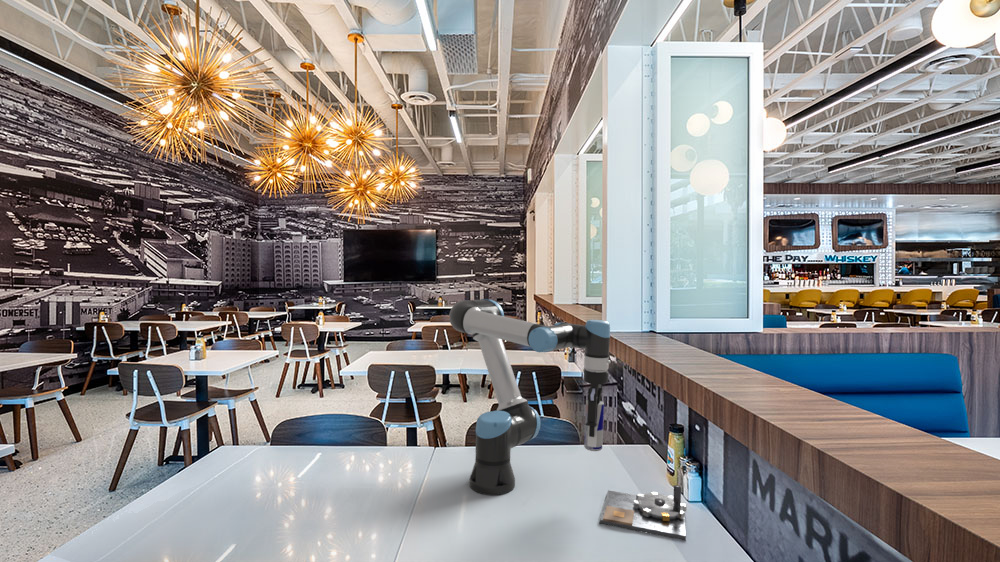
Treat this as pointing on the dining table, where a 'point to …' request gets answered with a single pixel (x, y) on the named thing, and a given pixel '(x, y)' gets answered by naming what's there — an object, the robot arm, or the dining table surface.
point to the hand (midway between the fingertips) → (593, 442)
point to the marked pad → (619, 515)
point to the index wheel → (661, 505)
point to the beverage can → (599, 427)
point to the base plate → (643, 518)
